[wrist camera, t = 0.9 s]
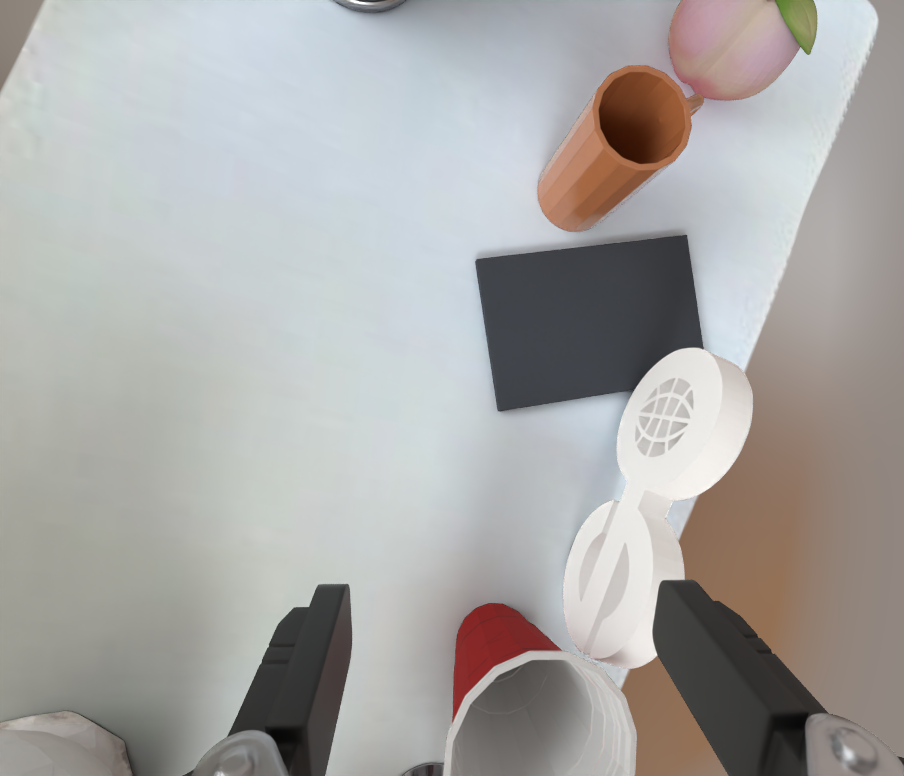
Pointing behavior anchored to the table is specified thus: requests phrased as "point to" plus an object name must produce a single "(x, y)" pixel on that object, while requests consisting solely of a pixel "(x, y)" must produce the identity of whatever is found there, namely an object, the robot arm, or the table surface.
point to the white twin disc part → (652, 500)
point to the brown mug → (616, 147)
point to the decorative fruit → (738, 43)
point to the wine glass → (426, 770)
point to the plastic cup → (532, 705)
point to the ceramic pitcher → (60, 747)
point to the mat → (585, 318)
